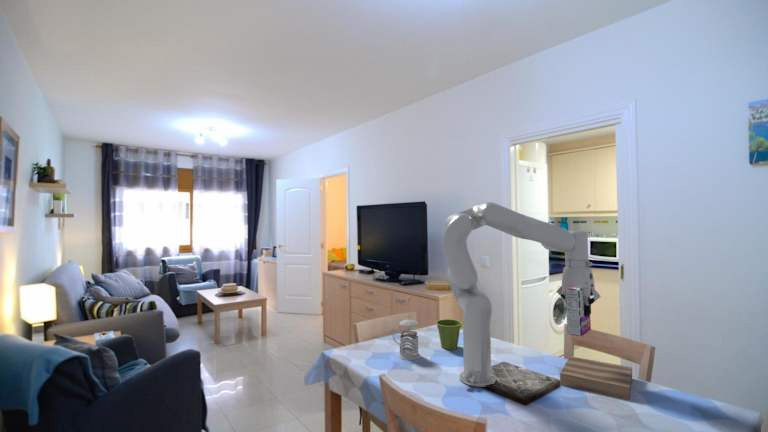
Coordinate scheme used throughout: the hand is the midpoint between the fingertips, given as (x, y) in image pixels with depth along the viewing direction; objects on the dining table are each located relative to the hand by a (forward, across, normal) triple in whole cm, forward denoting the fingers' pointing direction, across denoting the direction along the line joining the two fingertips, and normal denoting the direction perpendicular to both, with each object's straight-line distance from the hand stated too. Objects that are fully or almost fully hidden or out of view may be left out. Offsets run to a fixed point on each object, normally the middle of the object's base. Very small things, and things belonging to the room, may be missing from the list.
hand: (578, 314), depth 135 cm
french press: (+22, +57, +33) cm, 69 cm away
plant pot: (+23, +53, +11) cm, 58 cm away
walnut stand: (+23, -5, -1) cm, 23 cm away
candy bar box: (+7, 0, 0) cm, 7 cm away
